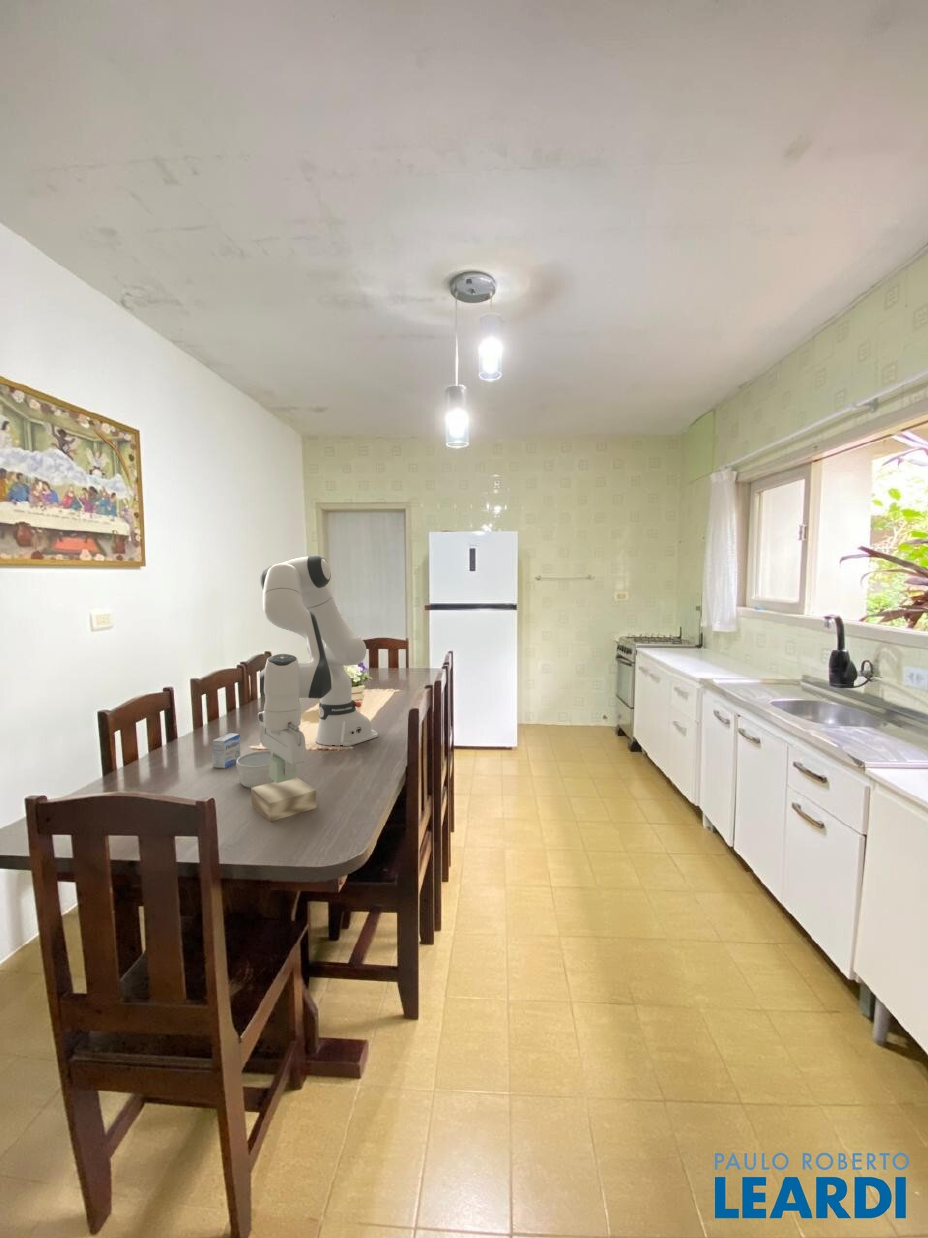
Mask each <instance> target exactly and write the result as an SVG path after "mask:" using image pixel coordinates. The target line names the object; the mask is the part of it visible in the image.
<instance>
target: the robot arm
mask: <svg viewBox="0 0 928 1238" xmlns="http://www.w3.org/2000/svg"><path fill="white" fill-rule="evenodd" d="M328 563H329V562H328V561H327V559H326V558H324V557H323V556H322V555H320V554H312V555H311V554H310V555H309V556H301V557H297V558H293V559H290V560H287V561H284V562H280V563H276V564H273V565H270V566H268V567H266V568H264V569H263V570H262V572H261V574H260V578H259V583H260V585H261V589H262V608H263V614H264V616H265V618H266V619H267V620H268V622H270V623H271V624H272V625H274V626H276V627H277V628H279V629H282V630H286V631H289V632H293V633H294V634H297V635H299V636H301V637H302V638H304V639H305V641H306V650H307V651H306V652H307V653H308V655H309V656H310V657H309V658H310V661H308V662H299V660H298V658H297V657H296V656H295V655H294V654H293V655H292V654H289V653H277V654H274V655H271V656H269V657H268V658H267V659H266V663H265V666H264V668H263V669H262V670H261V671H260V672H259V693H260V694H261V695H262V696H263V697H264V698H265V702H264V705H263V711H260V712H257V720H258V722H259V738H260V743H261V746H262V747H264V748H266V750H270V751H271V756H272V758H273V757H278V756H279V757H281V758H282V759H284V760H285V764H286V765H285V768H283V771H284V772H283V774H284V775H285V776H291V775H292V774H293V767H294V765H296V766H297V765H300V764H304V763H305V762H306V760H307V748H306V747H307V745H306V737H305V735H304V734H305V733H303V732H302V731H301V730H300V727H299V726H300V725H301V721H302V720H301V710H302V709H301V707H302V705H301V702H300V699H306V698H307V699H319V702H318V717H319V718H318V719H319V722H318V727H317V728H318V729H317V734H316V737H315V742H316V743H318V744H319V745H322V746H323V745H324V746H332V745H335V746H340V745H343V746H342V747H351V746H354V745H356V744H360V743H363V742H366V741H368V740H369V741H370V740H372V739H375V738H377V737H378V735H379V734H378V732H377V731H376V730H374V729H372V723H371V721H370V719H369V718H368V717H367V716H365V715H364V714H362V713H361V712H360V711H358V710H357V708H361V707H362V703H361V702H360V701H358V700H357V701H354V700H353V699H352V697H353V696H352V695H353V694H352V693H353V691H352V690H353V689H352V687H353V686H352V683H353V682H352V678H351V676H350V675H349V674H348V672H346V669H345V667H350V666H357V665H360V664H361V663H362V662H363V661H364V659H365V657H366V655H367V646H366V643H365V641H364V640H363V639H361V638H360V637H359V636H358V635H356V633H354V632H353V630H352V629H351V627H350V626H349V625H348V624H347V623H346V621H345V620H344V618H343V617H342V615H341V613H340V611H339V609H338V606H337V605H336V603H335V600H334V597H333V595H332V592H331V590H330V587H329V586H328V584H329V582H330V581H331V579H332V578H331V577H332V576H331V575H332V574H331V568H330V565H329V564H328Z"/></svg>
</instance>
